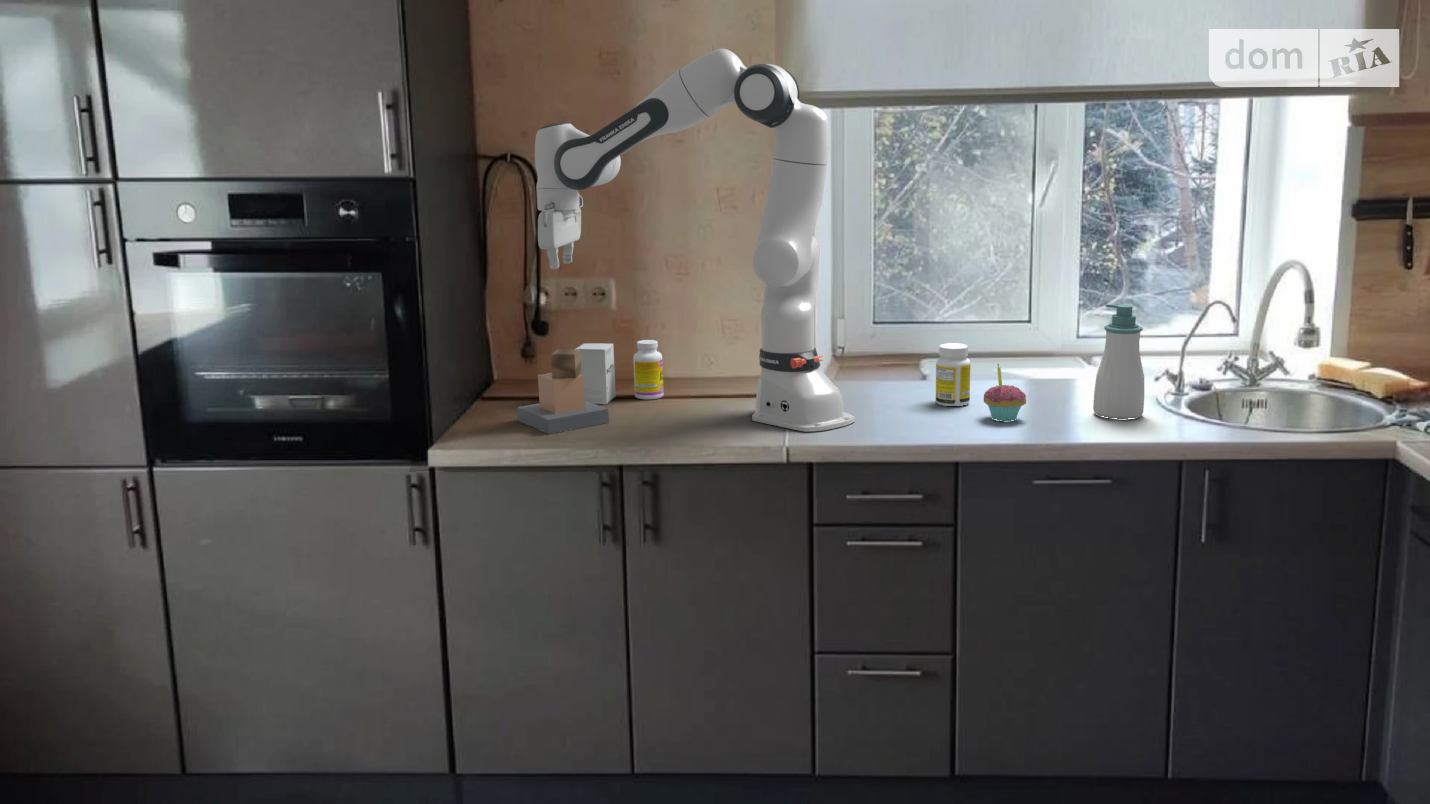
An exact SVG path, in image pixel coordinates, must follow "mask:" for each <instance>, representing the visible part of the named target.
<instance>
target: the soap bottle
mask: <svg viewBox="0 0 1430 804" xmlns="http://www.w3.org/2000/svg"><path fill="white" fill-rule="evenodd" d="M1104 305H1105V307H1106V308H1115V309H1116V314H1115V313H1114V314H1112V317H1111V322H1109V324H1106V325H1104V326H1103V329H1104V330H1105V343H1104V350H1103V353H1102V356H1101V360H1100V363H1099V365H1098V369H1097V372H1096V374H1095V375H1096V376H1095V377H1096V378H1095V385H1094V391H1093V407H1092V409H1093V413H1094V412H1095V413H1094V414H1095V415H1096V414H1097V415H1099V416H1104V417H1108V418H1117V419H1128V418H1136V417H1139V418H1140V417H1142V415H1143V414H1144V408H1145V407H1144V406H1145V373H1144V368H1143V363H1142V359H1141V353H1140V340H1141V339H1140V336H1141V332H1142V331H1143V330H1144V329H1143V327H1142V326H1141V325H1139V324H1137V323H1136V320H1137V319H1136V318H1137V316H1136V315H1135V314H1133V305H1130V304H1114V303H1106V304H1104ZM1097 415H1096V416H1097ZM1099 416H1098V417H1099Z"/></svg>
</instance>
